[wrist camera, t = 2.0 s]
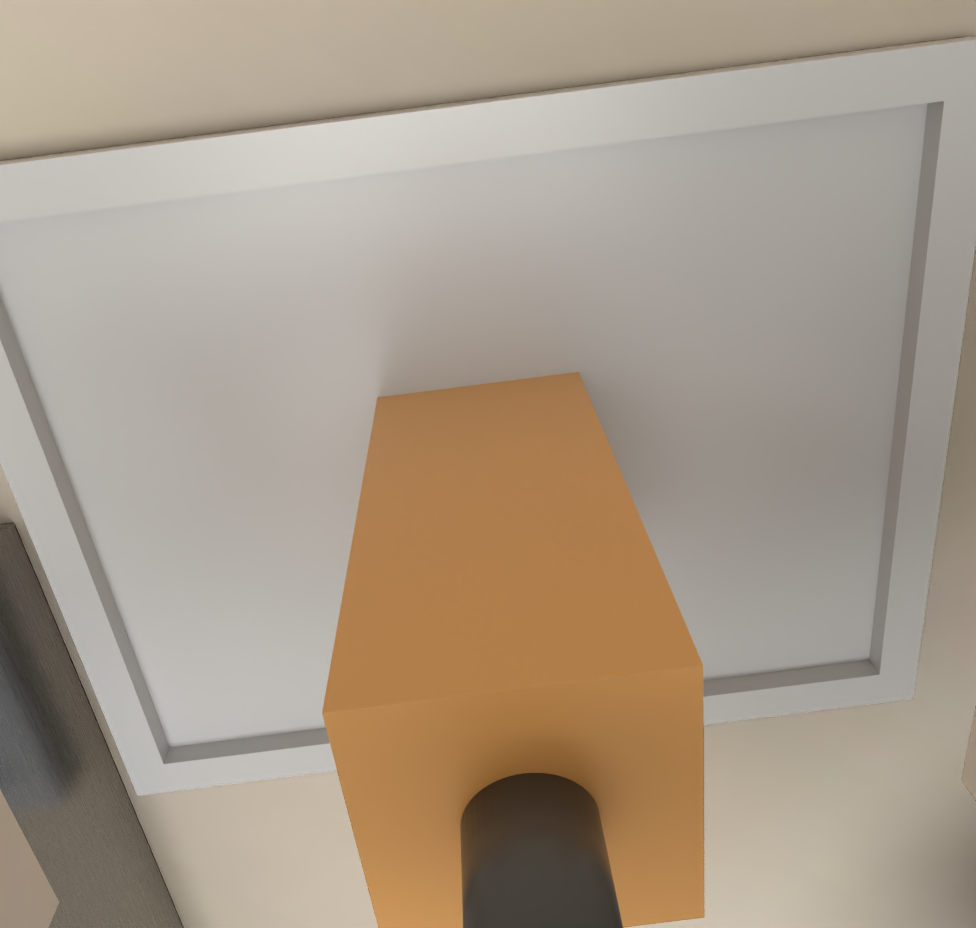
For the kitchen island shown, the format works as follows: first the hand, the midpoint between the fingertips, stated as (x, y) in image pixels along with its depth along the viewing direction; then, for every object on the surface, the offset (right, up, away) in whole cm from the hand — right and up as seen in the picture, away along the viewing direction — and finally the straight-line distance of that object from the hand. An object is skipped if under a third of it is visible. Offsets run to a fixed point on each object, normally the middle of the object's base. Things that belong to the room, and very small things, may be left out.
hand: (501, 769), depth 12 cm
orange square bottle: (0, +4, +8) cm, 9 cm away
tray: (0, +4, +9) cm, 10 cm away
